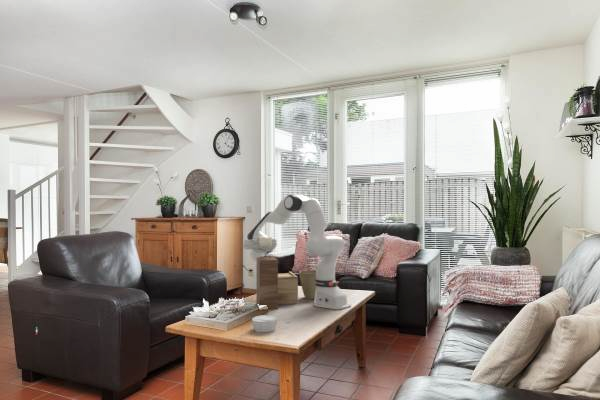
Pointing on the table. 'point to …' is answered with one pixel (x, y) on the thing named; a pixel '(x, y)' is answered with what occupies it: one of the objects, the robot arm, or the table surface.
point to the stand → (275, 284)
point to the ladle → (265, 241)
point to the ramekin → (264, 323)
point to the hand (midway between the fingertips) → (261, 238)
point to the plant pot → (308, 283)
